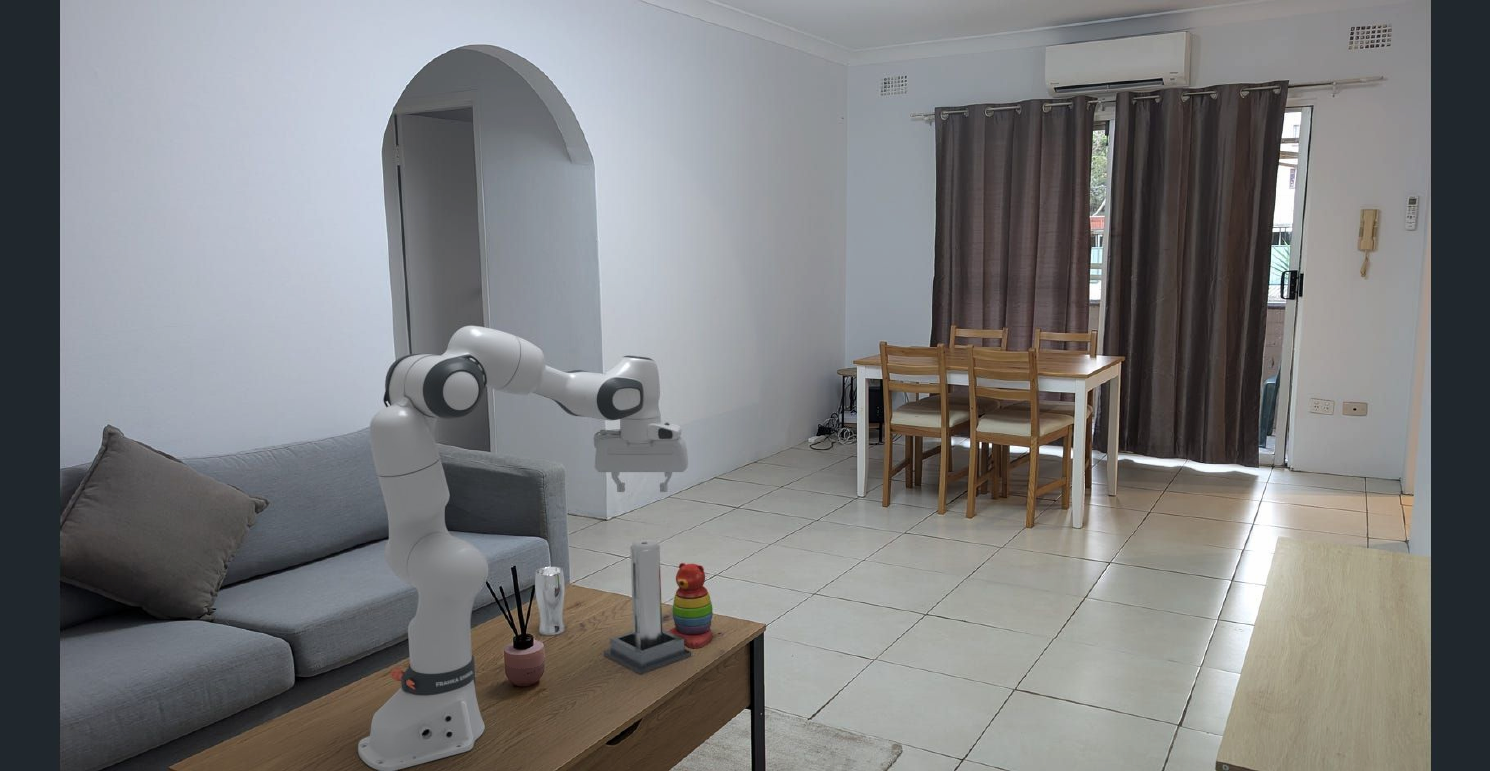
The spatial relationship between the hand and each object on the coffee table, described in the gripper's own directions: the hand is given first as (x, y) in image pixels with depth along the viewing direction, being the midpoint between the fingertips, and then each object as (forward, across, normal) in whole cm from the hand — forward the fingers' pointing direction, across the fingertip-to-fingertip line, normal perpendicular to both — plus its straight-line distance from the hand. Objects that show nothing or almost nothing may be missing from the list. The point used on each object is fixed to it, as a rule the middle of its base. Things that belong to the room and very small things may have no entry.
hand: (642, 491), depth 213 cm
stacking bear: (+38, +9, +11) cm, 40 cm away
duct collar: (+38, 0, 0) cm, 38 cm away
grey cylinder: (+37, 0, +1) cm, 37 cm away
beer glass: (+38, -25, +14) cm, 48 cm away
